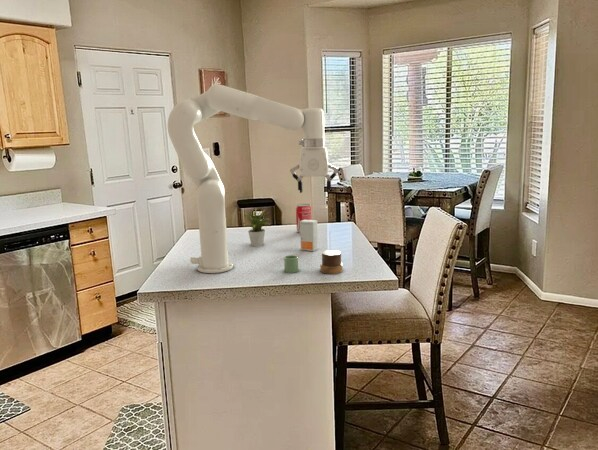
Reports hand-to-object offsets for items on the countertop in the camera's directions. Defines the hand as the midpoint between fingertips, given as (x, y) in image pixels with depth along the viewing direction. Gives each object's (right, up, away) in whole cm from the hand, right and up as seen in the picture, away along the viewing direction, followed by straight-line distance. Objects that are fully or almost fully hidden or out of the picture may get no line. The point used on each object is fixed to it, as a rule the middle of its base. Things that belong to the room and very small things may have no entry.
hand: (314, 192), depth 183 cm
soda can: (-3, -15, +58) cm, 60 cm away
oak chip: (+6, -28, -6) cm, 29 cm away
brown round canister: (+6, -25, -6) cm, 27 cm away
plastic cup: (-8, -28, -5) cm, 29 cm away
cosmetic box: (-1, -22, +24) cm, 33 cm away
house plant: (-25, -21, +35) cm, 47 cm away
